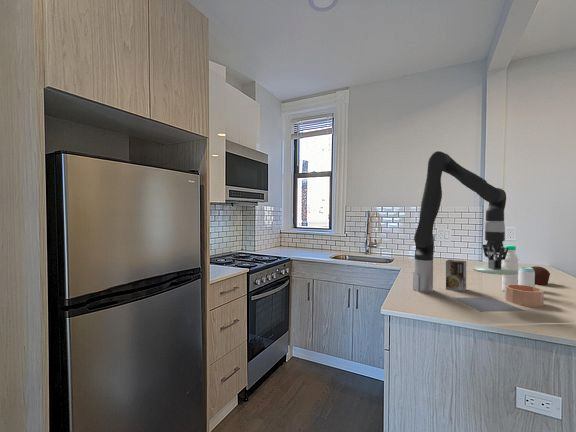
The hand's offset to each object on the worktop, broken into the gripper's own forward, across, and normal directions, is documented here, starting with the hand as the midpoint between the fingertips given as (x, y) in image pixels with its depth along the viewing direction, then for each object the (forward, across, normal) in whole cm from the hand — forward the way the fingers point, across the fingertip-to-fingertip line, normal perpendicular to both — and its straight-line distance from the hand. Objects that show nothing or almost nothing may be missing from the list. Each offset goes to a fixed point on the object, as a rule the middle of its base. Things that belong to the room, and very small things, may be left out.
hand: (494, 267), depth 138 cm
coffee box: (+18, -26, -2) cm, 31 cm away
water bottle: (+18, -21, +25) cm, 37 cm away
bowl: (+18, -2, +16) cm, 24 cm away
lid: (+2, 0, 0) cm, 2 cm away
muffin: (+18, -38, +56) cm, 69 cm away
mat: (+17, 0, -4) cm, 18 cm away
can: (+18, -26, +38) cm, 49 cm away
